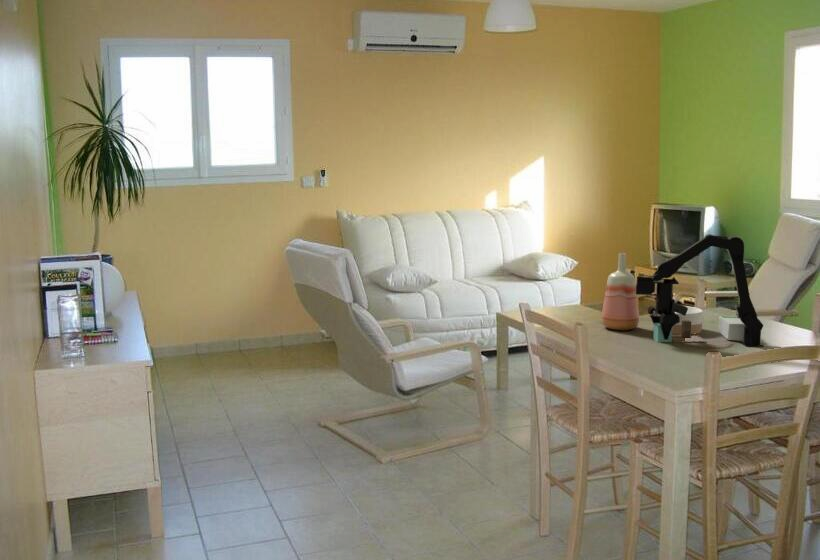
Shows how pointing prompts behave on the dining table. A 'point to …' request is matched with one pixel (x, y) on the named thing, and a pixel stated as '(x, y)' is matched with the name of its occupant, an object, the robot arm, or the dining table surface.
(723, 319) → the skincare box
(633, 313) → the vase
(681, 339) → the post block
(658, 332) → the teal tilted box
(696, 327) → the bowl
